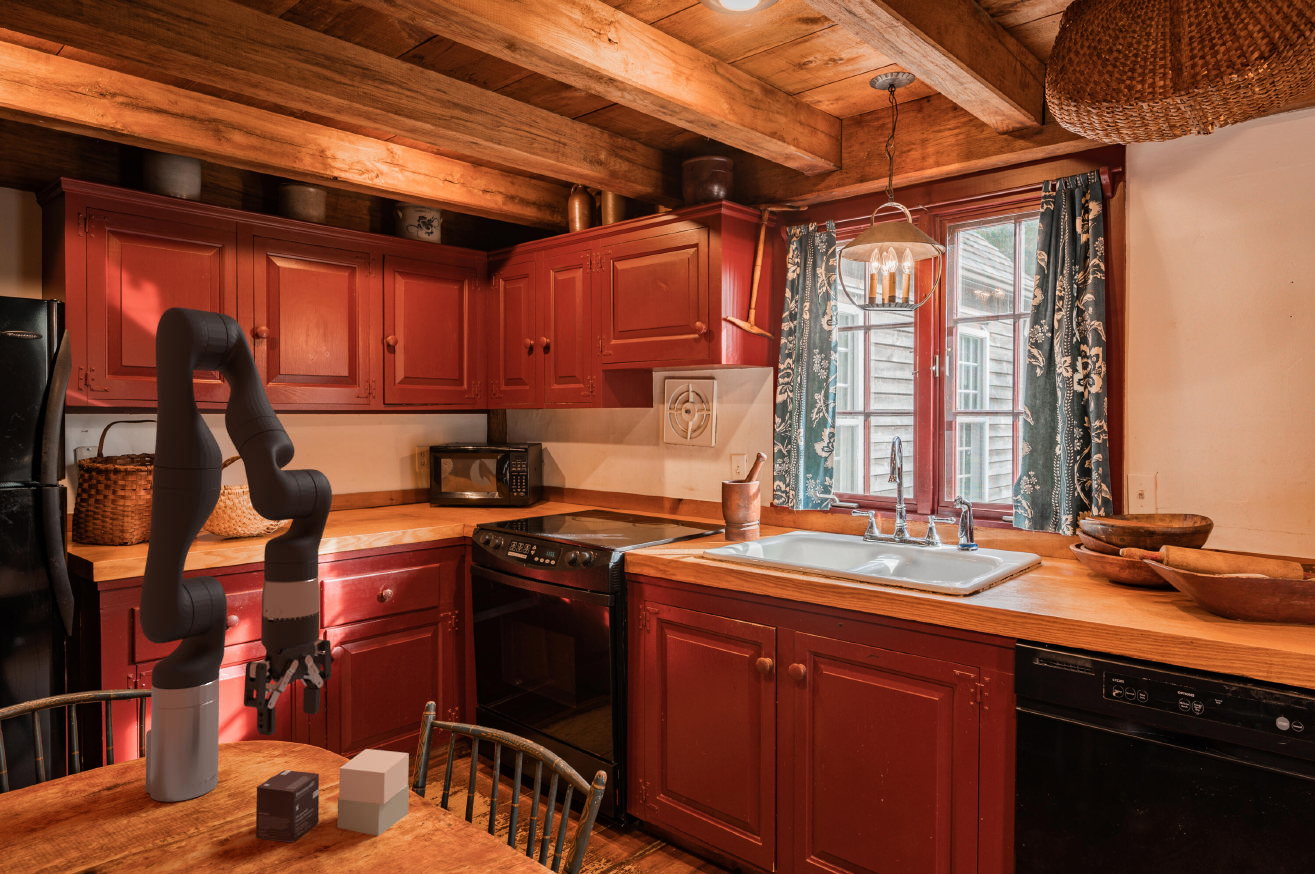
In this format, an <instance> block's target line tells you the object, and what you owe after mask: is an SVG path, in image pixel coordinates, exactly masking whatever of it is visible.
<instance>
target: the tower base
mask: <svg viewBox="0 0 1315 874" xmlns="http://www.w3.org/2000/svg"><path fill="white" fill-rule="evenodd" d="M409 788H410V785H409V784H407V785H405V786H404V787H403V788H402V789H401V790H400V791H399V792H398V793H396V794H395V795H394V796H393V797H392V798H391V799H390V800H389V801H387V802H386V803H385V804H376V803H367V802H358V801H349V800H341V799H339V796H338V797H337V826H336V827H337V828H338V829H342V830H348V831H353V832H357V833H363V834H366V835H367V834H368V835H372V836H376V837H377V836H378V837H379V836H381V835H382V834H383V833H385V832H386V831H387V830H389V829H390V828H391V827H393V825H395V824H397V823H398V822H399V821H400V820H402V819H403V818H405V817H406V816H408V814H409V799H410V798H409V795H410V790H409Z"/></svg>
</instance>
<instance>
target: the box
mask: <svg viewBox="0 0 1315 874" xmlns="http://www.w3.org/2000/svg"><path fill="white" fill-rule="evenodd" d="M319 775H320V774H319V773H315V772H307V771H305V772H304V771H297V770H289V769H287V770H284V769H283V770H282V771H281V772H279V773H278V774H275V775H274V776H271V777H270V778H268V779H267V780H266V781H264V782H263V783H261V784H260V785H259V784H258V786H256V808H255V811H256V812H255V813H256V814H255V815H256V816H255V817H256V819H255V821H256V822H255V838H257V839H260V840H261V839H262V840H270V841H278V842H279V841H280V842H286V843H294V842H296V841H297V840H298V839H300V838H301V837H302V836H304V835H305V834H306V833H308V832H309V831H310V830H311V829H313V828H314V827H315V826H317V825H318V824H319V815H320V814H319V809H320V803H319V802H320V801H319V800H320V799H319V798H320V796H319V794H320V791H319V786H320V785H319V784H320V780H319V779H320V776H319Z"/></svg>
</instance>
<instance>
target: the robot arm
mask: <svg viewBox="0 0 1315 874" xmlns="http://www.w3.org/2000/svg"><path fill="white" fill-rule="evenodd" d="M245 334H246V333H245V332H244V330H243V328H242V327H241V325H240V323H239V322H238V321H237V319H235V318H234V317H232V316H230V315H229V314H225V313H222V312H221V313H220V312H215V311H214V312H213V311H208V310H201V309H195V308H194V309H193V308H188V307H187V308H186V307H179V306H175V307H170V308H168V309H166V310H165V311H164V312H163V313H162V314H161V316H160V318H159V321H158V323H157V328H156V333H155V370H156V371H155V373H156V397H157V398H156V399H157V400H156V401H157V402H156V403H157V408H156V409H157V410H156V412H157V414H156V433H155V446H154V448H155V449H154V456H153V457H154V458H153V467H152V468H153V471H152V485H151V486H152V487H151V491H152V492H151V496H152V497H151V517H150V528H149V541H148V546H147V547H148V550H147V554H146V561H145V562H146V563H145V565H144V566H145V567H144V571H143V572H144V573H143V578H142V585H141V591H140V597H139V598H140V600H139V612H138V613H139V623H140V627H141V628H140V629H141V630H142V633H143V635H144V637H145V638H146V639H147V640H148V641H149V642H151V643H153V644H158V645H159V644H166V643H171V642H176V641H180V640H181V641H180V643H179V645H178V646H177V647H176V648H175V649H174V650H173V651H172V652H171V653H170V654H168V655H167V656H165V657H164V658H163V659H160V660H159V661H158V662H157V663H155V665H154V666H153V668H152V670H151V696H150V697H151V699H150V700H151V702H150V703H151V707H150V708H151V709H150V713H151V714H150V729H148V731H146V733H145V781H144V782H145V786H144V788H145V790H144V792H145V793H148V794H149V796H150V797H151V799H153V800H155V801H159V802H179V801H186V800H190V799H193V798H197V797H200V796H203V795H204V794H207V793H210V792H211V791H213V789H215V788H216V787H217V786H218V783H219V740H220V739H219V737H220V735H219V733H220V732H219V728H220V726H219V724H220V719H219V718H220V712H219V711H220V669H221V667H222V666H221V665H222V663H223V660H224V657H225V645H226V632H227V622H228V621H227V620H228V619H227V618H228V602H227V595H226V592H225V588H224V587H223V585H222V584H221V582H220V581H219V580H218V579H217V578H215V577H214V576H211V575H201V576H200V575H199V576H192V577H187V578H184V570H185V566H186V565H185V564H186V560H187V557H188V553H189V552H190V549H191V547H192V545H193V543H194V541H195V539H196V537H197V536H198V535H199V533H200V532H201V530H202V529H203V527H204V526H205V524H206V523H207V522H208V520H209V518H210V517H211V516H212V514H213V512H214V510H215V508H216V506H217V505H218V502H219V499H220V496H221V491H222V476H223V462H224V461H223V453H222V450H221V448H220V446H219V443H218V441H217V438H215V436H214V434H213V432H212V431H211V429H210V427H209V425H208V424H207V422H206V421H205V419H204V417H203V415H202V413H201V411H200V409H199V408H198V405H197V402H196V398H195V390H194V389H195V388H194V370H196V371H207V372H208V371H209V372H218V373H220V374H221V375H222V377H223V378H224V379H225V381H226V382H227V384H228V386H229V389H230V391H229V397H228V400H227V405H226V409H225V414H224V425H225V429H226V431H227V434H228V437H229V438H230V441H231V443H232V445H233V446H234V448H235V449H236V452H237V454H238V455H239V457H240V459H241V461H242V463H243V465H244V470H245V471H244V472H245V476H246V480H247V487H248V494H249V500H250V504H251V506H252V508H253V509H254V511H255V512H256V513H257V514H258V515H259V516H260V517H262V518H263V519H264V520H268V521H272V522H273V521H274V522H275V521H277V522H278V521H289V520H291V524H290V526H289V528H288V530H287V531H286V532H285V533H282V534H280V535H278V536H275V537H273V538H271V539H269V540H267V542H266V543H265V546H264V552H263V553H264V556H263V557H264V558H263V559H264V561H263V562H264V563H263V568H264V569H263V572H264V573H263V588H262V593H261V628H260V629H261V633H260V635H261V636H260V637H261V639H260V641H261V645H262V646H263V647H264V648H265V652H266V653H265V656H264V659H263V660H260V661H248V662H247V663H246V666H245V674H244V675H245V678H244V692H243V693H244V695H243V706H244V707H248V708H254V709H256V729H257V731H258V733H259V734H260V735H264V736H268V737H269V736H272V735H274V734H275V733H276V709H277V708H276V707H275V705H276V702H277V700H278V699H279V696H280V695H281V694H283V693H284V692H285V691H286V689H287V686H288V685H290V684H292V683H293V682H295V681H299V680H300V681H301V682H302V684H303V685H304V686H305V687H303V699H302V700H303V704H302V705H303V707H302V710H303V713H304V714H307V715H316V714H317V713H318V712H320V706H321V687H323V685H324V682H325V681H326V680H327V681H328V680H330V679H331V678H332V650H331V646H332V645H331V641H330V640H329V639H320V617H321V616H320V612H321V611H320V609H321V607H320V606H321V605H320V602H321V591H320V584H319V548H320V545H321V542H322V538H323V535H324V531H325V528H326V524H327V521H328V518H329V514H330V512H331V511H330V510H331V506H332V502H333V491H332V490H333V489H332V485H331V484H330V481H329V479H328V478H327V476H326V475H325V474H324V473H323V472H322V471H321V470H319V469H314V468H313V469H311V468H310V469H309V468H308V469H306V468H304V469H303V468H302V469H283V468H285V467H286V466H287V465H289V464H290V463H291V462H292V460H293V458H294V456H295V446H294V444H293V441H292V439H291V438H290V436H289V434H288V433H287V431H286V429H285V428H284V426H283V424H282V422H281V421H280V419H279V417H278V416H277V414H276V412H275V411H274V408H273V406H272V405H271V403H270V401H269V399H268V396H267V394H266V391H265V388H264V385H263V382H262V380H261V379H262V378H261V376H260V373H259V370H258V367H257V364H256V361H255V359H254V356H253V353H252V351H251V348H250V344H249V342H248V338H247V336H246V335H245ZM321 665H322V670H321ZM272 681H273V682H274V683H272ZM268 694H269V695H268ZM254 695H255V697H254ZM267 695H268V698H267Z"/></svg>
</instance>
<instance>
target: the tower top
mask: <svg viewBox="0 0 1315 874" xmlns="http://www.w3.org/2000/svg"><path fill="white" fill-rule="evenodd" d="M409 754H410V753H408V752H399V751H389V750H382V749H370V748H369V749H368V748H365V749H364V750H363V751H361V752H360V753H358V754H357V755H355V756H354V757H353V758H352V759H350V760H348V761H347V762H346V763H344V764H343V765H341V767H339V779H338V781H339V782H338V783H339V785H338V786H339V788H338V790H339V791H338V797H339V799H341V800H349V801H358V802H367V803H376V804H385V803H386V802H387V801H389V800H390V799H391V798H392V797H393V796H394V795H395V794H396V793H398V792H399V791H400V790H401V789H402V788H403V787H404V786H405V785H409V757H410V755H409Z"/></svg>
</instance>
